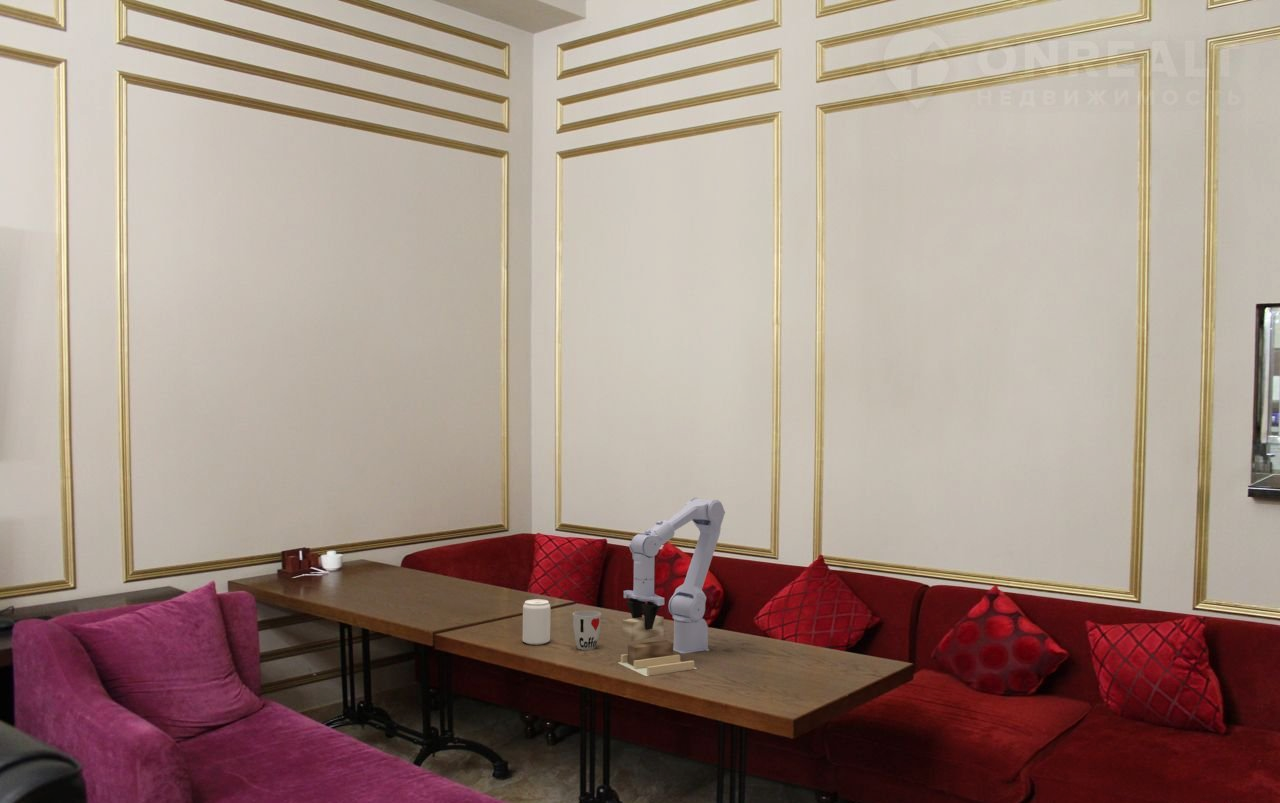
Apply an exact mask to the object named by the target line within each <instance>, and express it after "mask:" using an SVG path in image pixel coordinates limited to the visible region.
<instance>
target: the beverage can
mask: <svg viewBox="0 0 1280 803" xmlns="http://www.w3.org/2000/svg"><path fill="white" fill-rule="evenodd" d="M550 640H551V604H550V601H549V600H547V599H543V598H542V599H539V598H536V599H533V598H532V599H527V600H525V601H524V603H523V606H522V642H524V643H526V644H527V645H533V646H534V645H535V646H539V645H545V644H547V643H549V642H550Z"/></svg>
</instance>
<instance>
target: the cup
mask: <svg viewBox="0 0 1280 803" xmlns="http://www.w3.org/2000/svg"><path fill="white" fill-rule="evenodd" d="M601 618H602V613H601V612H600V611H597V610H578V611H574V612H572V624H573V626H572V627H573V633H574V639H575V644H576V646H577V649H578V650H580V649H581V651H592V649H593V650H595V649H596V647H597V643H598V640H599V635H600V629H601V620H602V619H601Z"/></svg>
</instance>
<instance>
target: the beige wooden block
mask: <svg viewBox="0 0 1280 803" xmlns="http://www.w3.org/2000/svg"><path fill="white" fill-rule="evenodd" d="M664 618H665V617H664V616H660V615H658V614H657V615H656V617H655V620H654V624H653V628H652V629H649V630H646V629H645V618H644V616H642V617H638V618H632V617H631V618H627V619H622V621H621V639H622V640H625V641H629V642H636V641H640V640H641V641H642V640H646V639H651V638H656V637H661V636H664V631H665V630H664V626H665V619H664Z"/></svg>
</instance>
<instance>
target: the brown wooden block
mask: <svg viewBox="0 0 1280 803" xmlns="http://www.w3.org/2000/svg"><path fill="white" fill-rule="evenodd" d="M673 646H674V642H671V641H669V640H667V639H666V640H665V639H663V640H656V641H655V640H654V641H649V642H648V641H647V642H641V643H639V642H638V643H632V644H628V645H627V654H628V664H630V665H632V666H634V661H635V660H642V659H649V658H657V657H664V656H672V655H674V650H673Z"/></svg>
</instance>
